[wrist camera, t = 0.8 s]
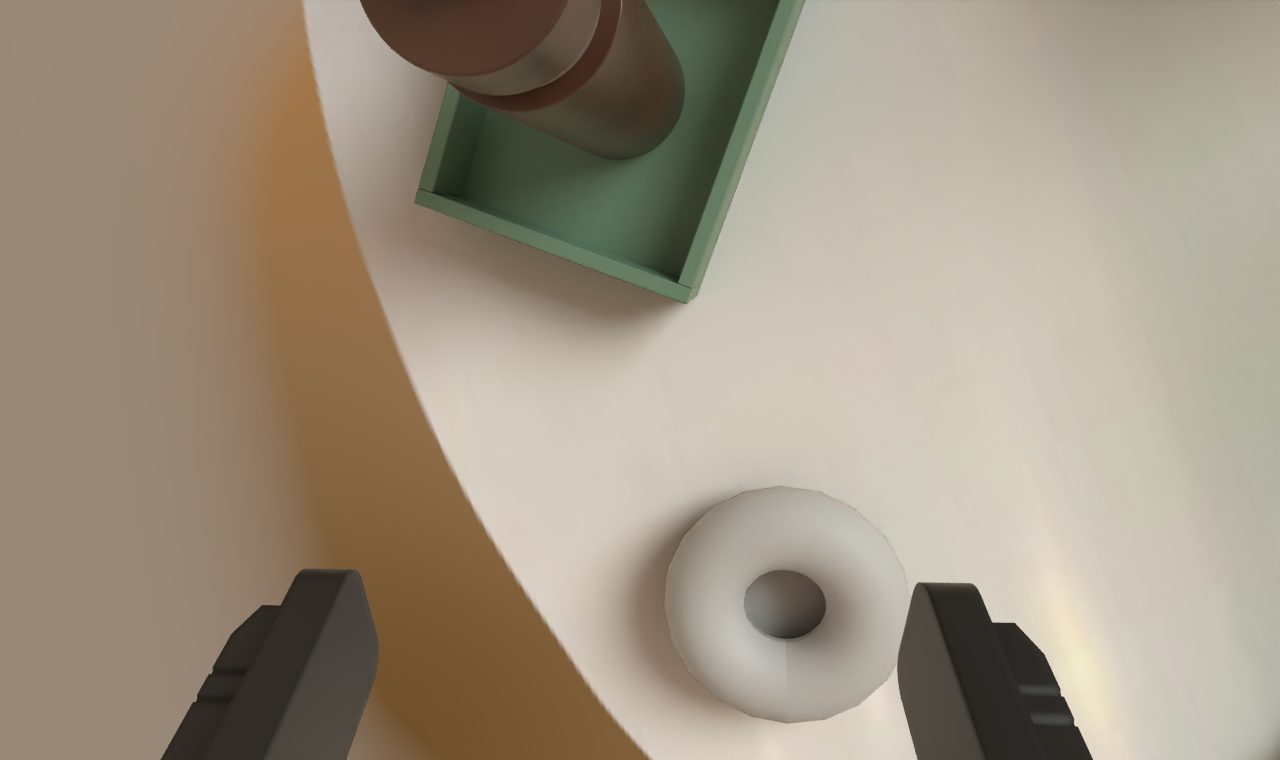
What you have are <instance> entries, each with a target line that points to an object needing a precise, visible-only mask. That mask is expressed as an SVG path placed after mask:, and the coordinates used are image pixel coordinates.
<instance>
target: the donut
mask: <svg viewBox="0 0 1280 760" xmlns="http://www.w3.org/2000/svg"><path fill="white" fill-rule="evenodd" d="M778 570H788V571H795V572H798V573H801V574H803V575H805V576H807V577H809V578H810V579H812V580H813V581H814V582H815V583H816V584H817V585H818V586H819V587H820V588H821V590H822V592H823V594H824V597H825V602H826V610H825V615H824V617H823V619H822V620H821V622H820V624H819V625H818V626H817V627H815V628H814V629H813V630H812V631H811V632H810V633H807V634H805V635H803V636H801V637H797V638H789V639H783V638H777V637H772V636H770V635H768V634H766V633H764V632H762V631H760V630H759V629H758V628H757V627H756V626H755V625H754V624H753V623H752V622H751V621H750V619H749V617H748V616H747V614H746V612H745V608H744V599H745V592H746V590H747V589H748V587H749V585H750V584H751V583H752V582H754V581H755V580H756V579H757V578H758V577H760V576H762V575H764V574H766V573H768V572H771V571H778ZM909 607H910V597H909V592H908V586H907V581H906V575H905V570H904V568H903V567H902V565H901V563H900V561H899V560H898V558H897V556H896V554H895V552H894V551H893V549H892V547H891V545H890V544H889V542H888V540H887V538H886V537H885V536H884V535H883V534H882V533H881V532H880V531H879V530H878V529H877V528H876V527H875V526H874V525H872V524H871V523H870V522H869V521H868V520H867V519H866V518H865V517H864V516H863V515H862V514H860V513H859V512H858V511H857V510H856V509H855V508H854V507H851V506H849V505H847V504H845V503H843V502H841V501H839V500H836V499H834V498H832V497H830V496H828V495H826V494H824V493H821V492H819V491H813V490H805V489H798V488H791V487H784V486H778V487H772V488H765V489H759V490H753V491H747V492H743V493H741V494H739V495H737V496H735V497H733V498H731V499H729V500H727V501H725V502H723V503H721V504H719V505H717V506H715V507H713V508H711V509H710V510H709V511H708V512H707V513H706V514H705V515H704V516H703V517H702V518H701V519H700V520H699V521H698V522H697V523H696V524H695V525H694V526H693V527H692V528H691V529H690V530H689V531H688V532H687V533H686V534H685V535H684V536H683V538H682V540H681V542H680V544H679V547H678V549H677V551H676V553H675V555H674V557H673V559H672V561H671V563H670V565H669V567H668V573H667V582H666V592H665V601H664V609H665V613H666V618H667V622H668V627H669V631H670V635H671V640H672V643H673V645H674V647H675V649H676V650H677V652H678V654H679V655H680V657H681V659H682V660H683V662H684V664H685V666H686V667H687V669H688V671H689V672H690V674H691V675H692V676H693V677H694V678H695V679H697V680H698V681H699V682H700V683H701V684H702V685H703V686H704V687H705V688H706V689H707V690H709V691H710V692H711V693H712V694H713V695H714V696H715V697H716V698H717V699H718V700H720V701H721V702H723V703H725V704H727V705H730V706H732V707H734V708H736V709H738V710H740V711H742V712H744V713H746V714H748V715H750V716H752V717H756V718H762V719H767V720H773V721H778V722H784V723H797V722H806V721H816V720H825V719H827V718H829V717H832V716H834V715H837V714H839V713H841V712H844V711H846V710H848V709H851V708H853V707H855V706H858V705H859V704H860V703H861V702H863V701H864V700H865V699H866V698H867V697H868V696H869V695H871V694H872V693H873V692H874V691H875V690H876V689H877V688H879V687H880V686H881V685H882V684H883V683H884V682H885V681H887V680H888V678H889V676H890V674H891V673H892V671H893V669H894V667H895V665H896V664H897V662H898V653H899V648H900V644H901V640H902V636H903V631H904V627H905V623H906V619H907V615H908V611H909Z"/></svg>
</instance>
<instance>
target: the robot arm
mask: <svg viewBox="0 0 1280 760" xmlns="http://www.w3.org/2000/svg"><path fill="white" fill-rule="evenodd" d="M378 653H379V646H378V639H377V634H376V630H375V627H374V623H373V619H372V615H371V611H370V608H369V604H368V601H367V596H366V593H365V589H364V585H363V582H362V578H361V576H360V574H359V572H358V571H357V570H350V569H347V570H346V569H303V570H302V571H300V572H299V573H298V575H297V576H296V577H295V579H294V581H293V583H292V585H291V587H290V589H289V590H288V592H287V594H286V596H285V598H284V600H283V602H282V604H281V606H273V605H262V606H261V607H260V608H259V609H258V610H257V611H255V612H254V613H253V614H252V615H251V616H250V617H249V618H248V619H247V620H246V621H245V622H244V623H243V624H242V625H241V626H239V627H238V628H237V629H236V630H235V631H234V632H233V633H232V634H231V636H230V638H229V639H228V641H227V643H226V645H225V646H224V648H223V650H222V652H221V654H220V656H219V657H218V659H217V661H216V663H215V664H214V666H213V672H212V674H209V675H208V677H207V678H206V680H205V682H204V684H203V686H202V687H201V689H200V691H199V693H198V694H197V701H196V702H193V703H192V705H191V707H190V709H189V710H188V712H187V714H186V716H185V717H184V719H183V721H182V723H181V725H180V726H179V728H178V730H177V732H176V734H175V735H174V737H173V739H172V741H171V742H170V744H169V746H168V748H167V750H166V751H165V753H164V755H163V757H162V759H161V760H346V759H347V755H348V753H349V750H350V747H351V744H352V742H353V739H354V736H355V733H356V731H357V728H358V725H359V722H360V720H361V717H362V714H363V711H364V708H365V706H366V703H367V700H368V697H369V694H370V692H371V689H372V686H373V683H374V680H375V676H376V672H377V665H378V656H379V654H378ZM897 670H898V683H899V690H900V695H901V700H902V703H903V707H904V711H905V714H906V718H907V722H908V726H909V729H910V733H911V737H912V740H913V744H914V748H915V752H916V755H917V759H918V760H1093V759H1092V757H1091V754H1090V752H1089V750H1088V748H1087V746H1086V744H1085V741H1084V739H1083V737H1082V735H1081V733H1080V731H1079V728H1078V727H1075V725H1074V718H1073V715H1072V713H1071V711H1070V709H1069V707H1068V705H1067V702H1066V700H1065V698H1064V697H1062V696H1061V694H1060V690H1061V689H1060V687H1059V685H1058V683H1057V681H1056V679H1055V676H1054V674H1053V672H1052V670H1051V668H1050V666H1049V663H1048V661H1047V659H1046V657H1045V655H1044V653H1043V652H1042V651H1041V650H1040V649H1039V648H1038V647H1037V646H1036V645H1035V644H1034V643H1033V642H1032V641H1031V640H1030V639H1029V638H1028V636H1027V635H1026V634H1025V633H1024V632H1023V631H1022V630H1021V629H1020V628H1019V627H1018V626H1017V625H1016V624H1015V623H992V621H991V619H990V616H989V614H988V611H987V609H986V607H985V604H984V602H983V599H982V597H981V595H980V593H979V591H978V589H977V588H976V586H975V585H973V584H970V583H922V582H919V583H917V584H916V586H915V588H914V591H913V595H912V599H911V603H910V607H909V611H908V615H907V619H906V623H905V627H904V631H903V636H902V640H901V644H900V648H899V653H898V664H897Z"/></svg>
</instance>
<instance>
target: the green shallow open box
mask: <svg viewBox="0 0 1280 760" xmlns="http://www.w3.org/2000/svg"><path fill="white" fill-rule="evenodd" d="M645 2H646V3H647V5H648V7H649V9H650V10H651V12H652V14H653V16H654V17H655V19H656V21H657V22H658V24H659V26H660V28H661V29H662V31H663V33H664V34H665V36H666V38H667V40H668V41H669V43H670V45H671V47H672V48H673V50H674V52H675V54H676V55H677V57H678V59H679V62H680V64H681V67H682V70H683V75H684V81H685V98H684V105H683V108H682V112H681V115H680V117H679V119H678V122H677V124H676V125H675V127H674V129H673V130H672V132H671V133H670V134H669V136H668V137H667V138H666V139H665V140H664V141H663V142H662V143H661V144H660V145H658V146H657V147H656V148H655V149H653V150H651V151H650V152H648V153H646V154H644V155H641V156H639V157H635V158H632V159H625V160H613V159H606V158H603V157H599V156H596V155H594V154H592V153H590V152H587V151H585V150H583V149H580V148H578V147H576V146H574V145H571V144H569V143H567V142H564V141H562V140H560V139H557V138H555V137H553V136H551V135H548V134H546V133H544V132H541V131H539V130H537V129H534V128H532V127H530V126H528V125H525V124H523V123H521V122H518V121H516V120H514V119H512V118H509V117H507V116H505V115H502V114H500V113H498V112H495V111H493V110H491V109H489V108H486V107H484V106H482V105H479V104H477V103H475V102H473V101H471V100H470V99H468V98H467V97H465V96H463V95H462V94H461V93H460V92H458V91H457V90H456V89H455V88H453V87H452V86H451V85H450V84H449V82H448V85H447V88H446V92H445V95H444V99H443V102H442V106H441V110H440V113H439V117H438V120H437V124H436V127H435V131H434V135H433V138H432V142H431V145H430V149H429V152H428V156H427V159H426V163H425V167H424V170H423V174H422V177H421V181H420V184H419V188H418V191H417V194H416V198H415V201H414V202H415V203H416V204H419V205H421V206H424V207H427V208H429V209H432V210H435V211H437V212H440V213H443V214H445V215H448V216H451V217H453V218H456V219H459V220H462V221H464V222H467V223H470V224H472V225H475V226H478V227H480V228H483V229H486V230H488V231H491V232H494V233H496V234H499V235H502V236H504V237H507V238H510V239H513V240H515V241H518V242H521V243H523V244H526V245H529V246H531V247H534V248H537V249H539V250H542V251H545V252H547V253H550V254H553V255H555V256H558V257H561V258H564V259H566V260H569V261H572V262H574V263H577V264H580V265H582V266H585V267H588V268H590V269H593V270H596V271H598V272H601V273H604V274H606V275H609V276H612V277H615V278H617V279H620V280H623V281H625V282H628V283H631V284H633V285H636V286H639V287H641V288H644V289H647V290H649V291H652V292H655V293H657V294H660V295H663V296H666V297H668V298H671V299H674V300H676V301H679V302H682V303H684V304H687V303H688V302H690V301H691V300H692V299H694V298H695V297H696V296H697V294H698V291H699V288H700V286H701V283H702V280H703V277H704V275H705V272H706V269H707V266H708V264H709V261H710V258H711V256H712V253H713V250H714V247H715V245H716V242H717V239H718V236H719V234H720V231H721V228H722V226H723V223H724V220H725V217H726V215H727V212H728V209H729V207H730V204H731V201H732V198H733V196H734V193H735V190H736V187H737V185H738V182H739V179H740V177H741V174H742V171H743V168H744V166H745V163H746V160H747V157H748V155H749V152H750V149H751V147H752V144H753V141H754V138H755V136H756V133H757V130H758V128H759V125H760V122H761V119H762V117H763V114H764V111H765V108H766V106H767V103H768V100H769V98H770V95H771V92H772V89H773V87H774V84H775V81H776V78H777V76H778V73H779V70H780V68H781V65H782V62H783V59H784V57H785V54H786V51H787V49H788V46H789V43H790V40H791V38H792V35H793V32H794V29H795V27H796V24H797V21H798V19H799V16H800V13H801V10H802V8H803V5H804V2H805V0H645Z"/></svg>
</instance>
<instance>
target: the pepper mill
mask: <svg viewBox="0 0 1280 760" xmlns="http://www.w3.org/2000/svg"><path fill="white" fill-rule="evenodd" d="M360 2H361V4H362V6H363V9H364V11H365V13H366V15H367V17H368V19H369V20H370V22H371V24H372V26H373V27H374V28H375V30H376V31H377V33H378V34H379V35H380V37H381V38H382V39H383V40H384V41H385V42H386V43H387V44H388V45H389V46H390V47H391V49H393V50H394V51H395V52H396V53H397V54H399V55H400V56H401V57H402V58H404V59H405V60H407V61H409V62H410V63H412V64H413V65H415V66H417V67H419V68H421V69H423V70H426V71H428V72H430V73H432V74H434V75H436V76H438V77H441V78H443V79H445V80H447V81H448V82H449V84H450V85H451V86H452V87H453V88H455V89H456V90H457V91H458V92H460V93H461V94H462V95H463V96H465V97H467V98H468V99H470V100H471V101H473V102H475V103H477V104H479V105H482V106H484V107H486V108H489V109H491V110H493V111H495V112H498V113H500V114H502V115H505V116H507V117H509V118H512V119H514V120H516V121H518V122H521V123H523V124H525V125H528V126H530V127H532V128H534V129H537V130H539V131H541V132H544V133H546V134H548V135H551V136H553V137H555V138H557V139H560V140H562V141H564V142H567V143H569V144H571V145H574V146H576V147H578V148H580V149H583V150H585V151H587V152H590V153H592V154H594V155H596V156H599V157H603V158H606V159H613V160H625V159H632V158H635V157H639V156H641V155H644V154H646V153H648V152H650V151H651V150H653V149H655V148H656V147H657V146H658V145H660V144H661V143H662V142H663V141H664V140H665V139H666V138H667V137H668V136H669V134H670V133H671V132H672V130H673V129H674V127H675V125H676V124H677V122H678V119H679V117H680V115H681V112H682V108H683V105H684V98H685V81H684V75H683V70H682V67H681V64H680V62H679V59H678V57H677V55H676V54H675V52H674V50H673V48H672V47H671V45H670V43H669V41H668V40H667V38H666V36H665V34H664V33H663V31H662V29H661V28H660V26H659V24H658V22H657V21H656V19H655V17H654V16H653V14H652V12H651V10H650V9H649V7H648V5H647V3H646V2H645V0H360Z"/></svg>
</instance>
